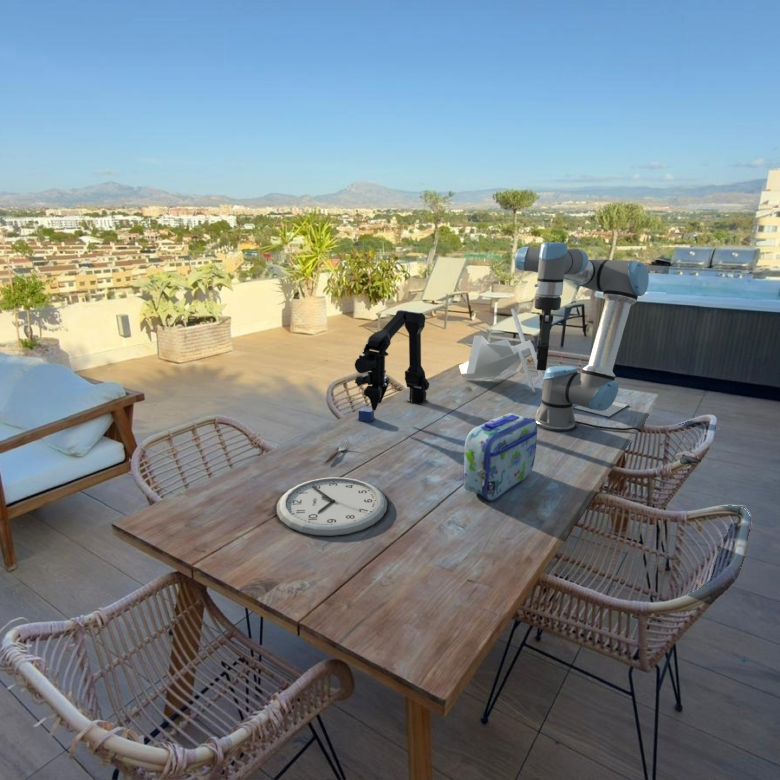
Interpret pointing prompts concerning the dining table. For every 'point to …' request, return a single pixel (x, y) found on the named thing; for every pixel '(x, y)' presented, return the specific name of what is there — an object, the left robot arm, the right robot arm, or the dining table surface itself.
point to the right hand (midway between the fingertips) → (541, 364)
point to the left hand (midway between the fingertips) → (376, 406)
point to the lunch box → (499, 455)
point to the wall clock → (331, 506)
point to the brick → (366, 414)
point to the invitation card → (608, 412)
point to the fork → (338, 451)
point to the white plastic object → (499, 357)
